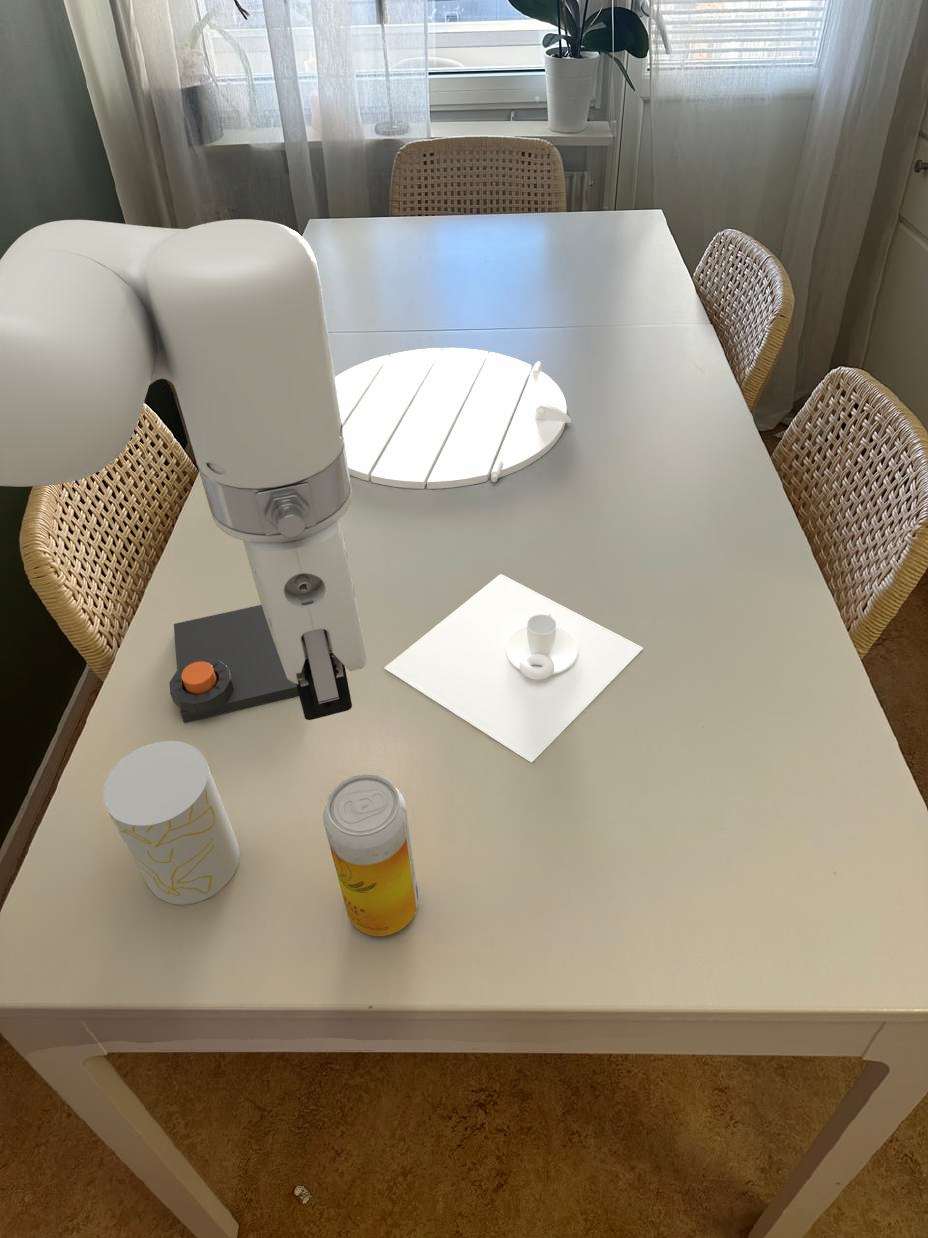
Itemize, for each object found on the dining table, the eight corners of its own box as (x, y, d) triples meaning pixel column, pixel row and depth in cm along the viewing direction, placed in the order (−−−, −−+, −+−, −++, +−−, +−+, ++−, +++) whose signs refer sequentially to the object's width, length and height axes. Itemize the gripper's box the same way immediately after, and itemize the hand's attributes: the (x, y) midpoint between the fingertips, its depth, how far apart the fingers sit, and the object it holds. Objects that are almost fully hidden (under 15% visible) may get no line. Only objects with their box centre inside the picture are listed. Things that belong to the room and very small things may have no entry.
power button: (186, 697, 88) (182, 687, 86) (184, 675, 90) (180, 665, 89) (217, 690, 88) (214, 679, 87) (215, 668, 90) (211, 658, 89)
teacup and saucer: (544, 694, 90) (545, 667, 87) (485, 659, 94) (484, 632, 91) (592, 647, 94) (595, 620, 92) (534, 616, 98) (535, 589, 95)
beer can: (340, 885, 75) (314, 781, 64) (409, 865, 76) (393, 760, 66) (355, 950, 70) (329, 850, 60) (427, 928, 72) (414, 825, 61)
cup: (146, 915, 73) (101, 837, 65) (146, 835, 79) (104, 754, 71) (243, 890, 75) (211, 810, 66) (235, 813, 80) (205, 731, 72)
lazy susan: (589, 365, 141) (590, 345, 139) (546, 505, 114) (547, 483, 111) (357, 345, 149) (355, 326, 147) (265, 471, 122) (260, 450, 119)
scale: (179, 728, 88) (171, 709, 86) (171, 633, 98) (164, 614, 96) (320, 694, 91) (315, 675, 89) (299, 605, 101) (294, 586, 99)
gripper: (379, 546, 41) (409, 778, 54) (321, 398, 52) (357, 621, 64) (220, 581, 40) (289, 811, 52) (193, 421, 50) (256, 645, 63)
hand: (326, 706), depth 58 cm, fingers closed
